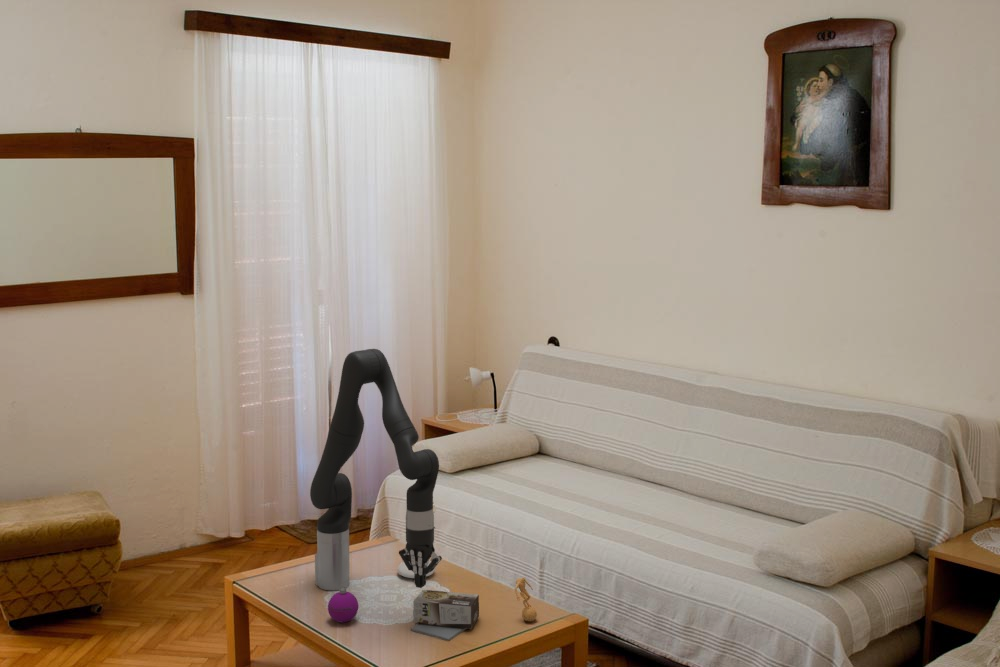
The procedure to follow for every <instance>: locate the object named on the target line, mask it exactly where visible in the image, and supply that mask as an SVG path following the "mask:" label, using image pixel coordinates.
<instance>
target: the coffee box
mask: <svg viewBox="0 0 1000 667" xmlns="http://www.w3.org/2000/svg"><path fill="white" fill-rule="evenodd" d="M479 597H480V595H479V594H476V593H475V594H474V593H464V592H453V591H452V592H451V591H443V590H442V591H441V590H432V589H429V590H428V589H422V590H421V592H419V594H418V595H417V596H416V598H414V600H413V603H412V604H413V606H412V608H413V611H412V612H413V613H412V614H413V615H412V617H413V619H412V622H413V623H414V624H418V623H422V624H431V625H441V626H450V627H459V628H467V629H469V630H472V629H473V627H474V625H475V624H476V622H477V620H478V618H479V617H480V602H479V600H480V598H479Z"/></svg>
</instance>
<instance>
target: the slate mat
mask: <svg viewBox="0 0 1000 667" xmlns="http://www.w3.org/2000/svg"><path fill="white" fill-rule="evenodd" d="M467 629H468V628H459V627H450V626H441V625H431V624H422V623H416V624H415V625H414V626H412V627H410V631H411V632H414V633H418V634H421V635H425V636H429V637H433V638H436V639H441V640H442V641H443V640H444V641H447V642H450V641H451V640H453V639H454V638H456V637H457V636H458V635H460V634H461V633H463V632H464V631H465V630H467Z"/></svg>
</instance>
